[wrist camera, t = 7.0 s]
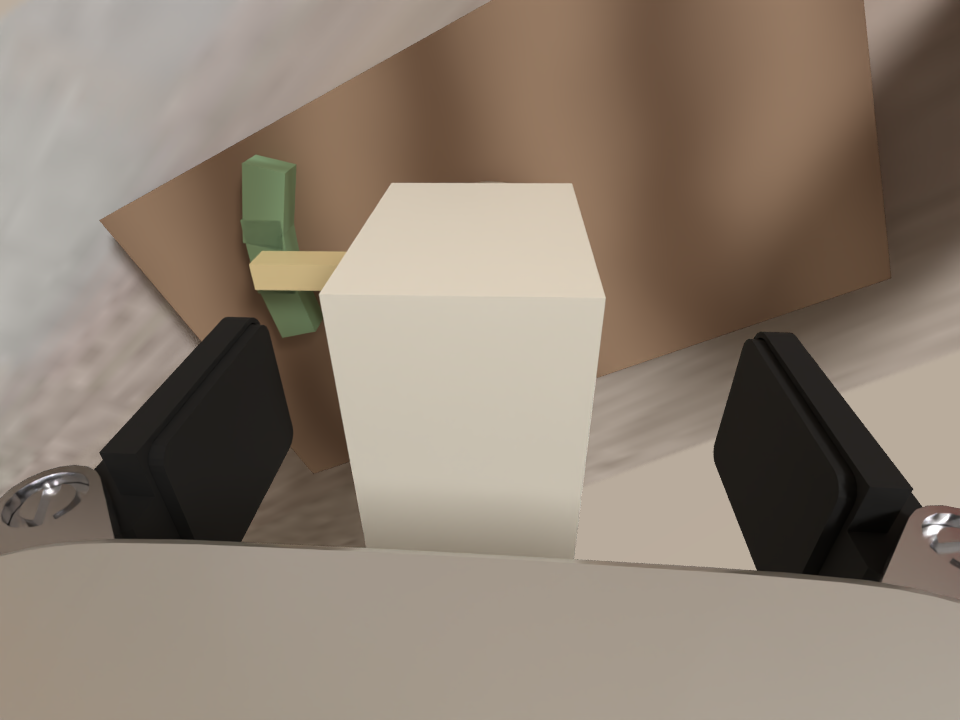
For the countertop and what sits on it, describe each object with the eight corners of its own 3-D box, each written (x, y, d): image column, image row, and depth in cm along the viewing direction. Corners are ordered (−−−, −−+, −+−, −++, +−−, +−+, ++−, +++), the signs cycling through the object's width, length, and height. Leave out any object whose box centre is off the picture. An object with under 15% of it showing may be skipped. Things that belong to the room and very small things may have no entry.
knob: (571, 129, 15) (638, 298, 7) (554, 351, 19) (585, 634, 11) (249, 130, 16) (-56, 289, 7) (297, 346, 20) (134, 614, 11)
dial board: (812, -179, 13) (868, -211, 11) (866, 259, 19) (909, 292, 17) (126, 205, 19) (78, 231, 17) (323, 449, 25) (306, 491, 23)
